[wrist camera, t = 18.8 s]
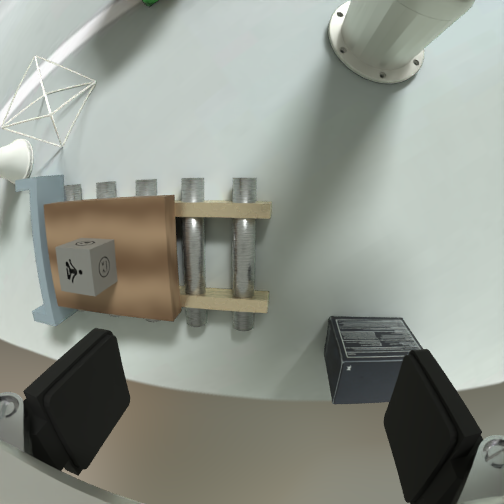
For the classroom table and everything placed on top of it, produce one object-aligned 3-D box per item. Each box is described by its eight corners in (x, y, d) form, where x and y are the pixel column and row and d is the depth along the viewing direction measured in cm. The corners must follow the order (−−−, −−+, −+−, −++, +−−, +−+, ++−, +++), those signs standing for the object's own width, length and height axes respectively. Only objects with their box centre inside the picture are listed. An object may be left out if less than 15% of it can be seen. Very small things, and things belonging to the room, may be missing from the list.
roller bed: (63, 185, 38) (50, 187, 35) (272, 178, 35) (270, 178, 32) (75, 301, 42) (64, 308, 39) (267, 322, 39) (266, 333, 36)
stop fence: (41, 177, 38) (15, 180, 32) (63, 174, 37) (36, 176, 32) (56, 306, 43) (34, 320, 37) (77, 310, 43) (55, 326, 37)
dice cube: (81, 237, 33) (55, 247, 28) (114, 239, 32) (89, 249, 28) (85, 277, 34) (61, 290, 29) (117, 281, 34) (95, 296, 29)
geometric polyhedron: (88, 56, 33) (50, 39, 24) (108, 110, 35) (67, 99, 26) (34, 105, 36) (-5, 99, 27) (50, 159, 37) (8, 159, 29)
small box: (322, 357, 40) (329, 407, 30) (328, 314, 38) (340, 359, 28) (393, 357, 39) (415, 402, 28) (403, 316, 37) (433, 357, 27)
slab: (57, 202, 35) (43, 204, 32) (174, 195, 33) (164, 196, 31) (69, 298, 39) (57, 306, 36) (181, 310, 37) (173, 321, 34)
